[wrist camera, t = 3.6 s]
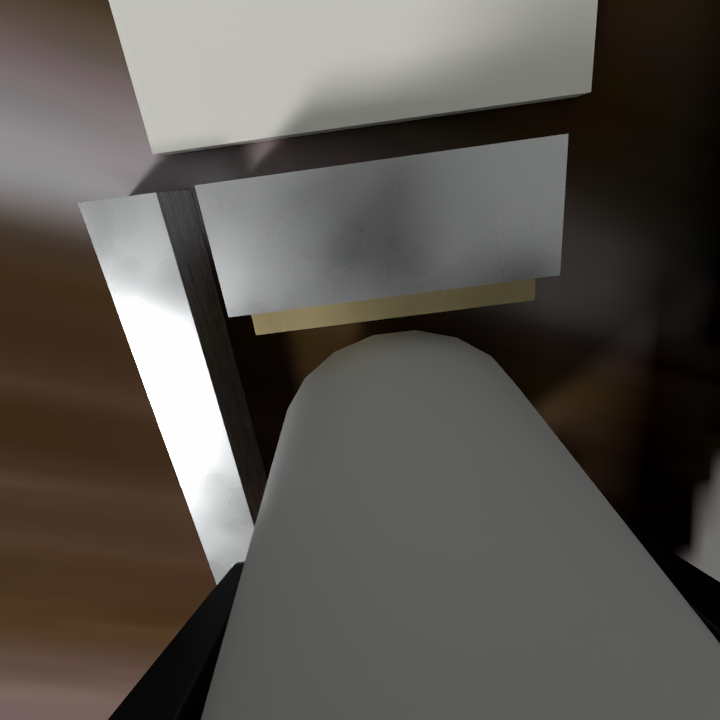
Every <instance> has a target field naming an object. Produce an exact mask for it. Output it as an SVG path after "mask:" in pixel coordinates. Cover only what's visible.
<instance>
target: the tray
mask: <svg viewBox="0 0 720 720" xmlns="http://www.w3.org/2000/svg"><path fill="white" fill-rule="evenodd" d="M109 3H110V7H111V10H112V13H113V17H114V20H115V24H116V27H117V31H118V34H119V38H120V41H121V45H122V48H123V52H124V55H125V59H126V62H127V66H128V69H129V73H130V76H131V80H132V83H133V87H134V90H135V94H136V97H137V101H138V104H139V108H140V111H141V115H142V118H143V122H144V125H145V129H146V132H147V136H148V139H149V143H150V146H151V150H152V153H153V154H156V155H171V154H178V153H185V152H192V151H199V150H206V149H213V148H220V147H227V146H234V145H241V144H249V143H256V142H263V141H270V140H277V139H284V138H291V137H298V136H305V135H312V134H319V133H326V132H333V131H340V130H347V129H355V128H362V127H369V126H376V125H383V124H390V123H397V122H404V121H411V120H418V119H425V118H432V117H439V116H446V115H454V114H461V113H468V112H475V111H482V110H489V109H496V108H503V107H510V106H517V105H524V104H531V103H538V102H545V101H552V100H560V99H567V98H574V97H578V96H581V95H584V94H587V93H590V92H591V86H592V73H593V60H594V46H595V33H596V19H597V6H598V0H109Z"/></svg>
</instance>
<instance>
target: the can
mask: <svg viewBox="0 0 720 720" xmlns="http://www.w3.org/2000/svg"><path fill="white" fill-rule="evenodd" d="M201 720H720V643H719V642H718V641H717V639H716V638H715V637H714V636H713V634H712V633H711V632H710V630H709V629H708V628H707V627H706V625H705V624H704V623H703V622H702V620H701V619H700V618H699V616H698V615H697V614H696V613H695V611H694V610H693V609H692V608H691V606H690V605H689V604H688V602H687V601H686V600H685V599H684V597H683V596H682V595H681V594H680V592H679V591H678V590H677V589H676V587H675V586H674V585H673V583H672V582H671V581H670V580H669V578H668V577H667V576H666V575H665V573H664V572H663V571H662V569H661V568H660V567H659V566H658V564H657V563H656V562H655V561H654V559H653V558H652V557H651V555H650V554H649V553H648V552H647V550H646V549H645V548H644V547H643V545H642V544H641V543H640V542H639V540H638V539H637V538H636V536H635V535H634V534H633V533H632V531H631V530H630V529H629V528H628V526H627V525H626V524H625V522H624V521H623V520H622V519H621V517H620V516H619V515H618V514H617V512H616V511H615V510H614V508H613V507H612V506H611V505H610V503H609V502H608V501H607V500H606V498H605V497H604V496H603V495H602V493H601V492H600V491H599V489H598V488H597V487H596V486H595V484H594V483H593V482H592V481H591V479H590V478H589V477H588V475H587V474H586V473H585V472H584V470H583V469H582V468H581V467H580V465H579V464H578V463H577V461H576V460H575V459H574V458H573V456H572V455H571V454H570V453H569V451H568V450H567V449H566V447H565V446H564V445H563V444H562V442H561V441H560V440H559V439H558V437H557V436H556V435H555V434H554V432H553V431H552V430H551V428H550V427H549V426H548V425H547V423H546V422H545V421H544V420H543V418H542V417H541V416H540V414H539V413H538V412H537V411H536V409H535V408H534V407H533V406H532V404H531V403H530V402H529V400H528V399H527V398H526V397H525V395H524V394H523V393H522V392H521V390H520V389H519V388H518V387H517V385H516V384H515V383H514V382H513V381H512V379H511V378H510V377H509V376H508V375H507V374H506V373H505V371H504V370H503V369H502V368H501V367H500V366H499V365H498V363H497V362H496V361H495V360H494V359H493V358H492V357H491V356H490V355H488V354H486V353H484V352H482V351H480V350H479V349H477V348H475V347H473V346H471V345H469V344H468V343H466V342H464V341H462V340H460V339H459V338H456V337H451V336H445V335H440V334H434V333H429V332H423V331H418V330H412V331H404V332H395V333H387V334H379V335H372V336H370V337H368V338H365V339H363V340H361V341H359V342H356V343H354V344H352V345H349V346H347V347H345V348H343V349H340V350H338V351H336V352H334V353H333V354H332V355H331V356H330V357H328V358H327V359H326V360H325V361H324V362H323V363H322V364H321V365H319V366H318V367H317V368H316V369H315V370H314V371H313V372H311V373H310V374H309V375H308V376H307V377H306V378H305V379H304V381H303V383H302V384H301V386H300V388H299V390H298V392H297V393H296V395H295V397H294V399H293V401H292V402H291V404H290V406H289V408H288V409H287V413H286V416H285V420H284V423H283V427H282V431H281V434H280V438H279V441H278V445H277V449H276V452H275V456H274V459H273V463H272V466H271V470H270V474H269V477H268V481H267V484H266V488H265V491H264V495H263V499H262V502H261V506H260V509H259V513H258V517H257V520H256V524H255V527H254V531H253V534H252V538H251V542H250V545H249V549H248V552H247V556H246V560H245V563H244V567H243V570H242V574H241V577H240V581H239V585H238V588H237V592H236V595H235V599H234V602H233V606H232V610H231V613H230V617H229V620H228V624H227V628H226V631H225V635H224V638H223V642H222V645H221V649H220V653H219V656H218V660H217V663H216V667H215V671H214V674H213V678H212V681H211V685H210V688H209V692H208V696H207V699H206V703H205V706H204V710H203V713H202V717H201Z"/></svg>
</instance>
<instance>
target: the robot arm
mask: <svg viewBox="0 0 720 720" xmlns="http://www.w3.org/2000/svg"><path fill="white" fill-rule="evenodd" d="M625 524H626V523H625ZM626 525H627V526H628V528H629V529H630V530H631V531H632V533H633V534H634V535H635V536H636V538H637V539H638V540H639V542H640V543H641V544H642V545H643V547H644V548H645V549H646V550H647V552H648V553H649V554H650V555H651V557H652V558H653V559H654V561H655V562H656V563H657V564H658V566H659V567H660V568H661V569H662V571H663V572H664V573H665V575H666V576H667V577H668V578H669V580H670V581H671V582H672V583H673V585H674V586H675V587H676V589H677V590H678V591H679V592H680V594H681V595H682V596H683V597H684V599H685V600H686V601H687V602H688V604H689V605H690V606H691V608H692V609H693V610H694V611H695V613H696V614H697V615H698V616H699V618H700V619H701V620H702V622H703V623H704V624H705V625H706V627H707V628H708V629H709V630H710V632H711V633H712V634H713V636H714V637H715V638H716V639H717V641H718V642H719V643H720V582H719V581H717V580H715V579H714V578H712V577H710V576H709V575H707V574H706V573H704V572H702V571H701V570H699V569H698V568H696V567H695V566H693V565H691V564H690V563H688V562H687V561H685V560H683V559H682V558H680V557H679V556H677V555H675V554H674V553H672V552H671V551H669V550H668V549H666V548H664V547H663V546H661V545H660V544H658V543H656V542H655V541H653V540H652V539H650V538H648V537H647V536H645V535H644V534H642V533H640V532H639V531H637V530H636V529H634V528H632V527H631V526H629V525H628V524H626ZM244 563H245V561H242V562H237V563H235V564H234V565H233V566H232V567H231V568H230V570H229V571H228V572H227V573H226V575H225V576H224V577H223V578H222V580H221V581H220V582H219V583H218V584H217V586H216V587H215V588H214V589H213V591H212V592H211V593H210V594H209V596H208V597H207V598H206V599H205V600H204V602H203V603H202V604H201V605H200V607H199V608H198V609H197V610H196V612H195V613H194V614H193V615H192V617H191V618H190V619H189V620H188V621H187V623H186V624H185V625H184V626H183V628H182V629H181V630H180V631H179V633H178V634H177V635H176V636H175V638H174V639H173V640H172V641H171V642H170V644H169V645H168V646H167V647H166V649H165V650H164V651H163V652H162V654H161V655H160V656H159V657H158V658H157V660H156V661H155V662H154V663H153V665H152V666H151V667H150V668H149V670H148V671H147V672H146V673H145V675H144V676H143V677H142V678H141V679H140V681H139V682H138V683H137V684H136V686H135V687H134V688H133V689H132V691H131V692H130V693H129V694H128V696H127V697H126V698H125V699H124V700H123V702H122V703H121V704H120V705H119V707H118V708H117V709H116V710H115V712H114V713H113V714H112V715H111V716H110V718H109V719H108V720H201V717H202V713H203V710H204V706H205V703H206V699H207V696H208V692H209V688H210V685H211V681H212V678H213V674H214V671H215V667H216V663H217V660H218V656H219V653H220V649H221V645H222V642H223V638H224V635H225V631H226V628H227V624H228V620H229V617H230V613H231V610H232V606H233V602H234V599H235V595H236V592H237V588H238V585H239V581H240V577H241V574H242V570H243V567H244Z"/></svg>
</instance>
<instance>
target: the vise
mask: <svg viewBox="0 0 720 720" xmlns="http://www.w3.org/2000/svg"><path fill="white" fill-rule="evenodd" d="M567 150H568V134H562V135H555V136H547V137H540V138H533V139H526V140H519V141H511V142H504V143H497V144H490V145H482V146H475V147H468V148H461V149H454V150H446V151H439V152H432V153H425V154H418V155H410V156H403V157H396V158H389V159H381V160H374V161H367V162H360V163H353V164H345V165H338V166H331V167H324V168H317V169H309V170H302V171H295V172H288V173H280V174H273V175H266V176H259V177H252V178H244V179H237V180H230V181H223V182H216V183H208V184H201V185H194V186H195V189H196V193H197V197H198V201H199V205H200V209H201V213H202V216H203V220H204V224H205V228H206V232H207V236H208V240H209V244H210V247H211V251H212V255H213V259H214V263H215V267H216V271H217V274H218V278H219V282H220V286H221V290H222V294H223V298H224V302H225V305H226V309H227V313H228V317H236V316H244V315H251V316H252V320H253V325H254V329H255V333H256V335H261V334H269V333H277V332H285V331H293V330H301V329H309V328H317V327H325V326H333V325H341V324H349V323H357V322H365V321H373V320H381V319H389V318H397V317H405V316H412V315H420V314H428V313H436V312H444V311H452V310H460V309H468V308H476V307H484V306H492V305H500V304H508V303H516V302H524V301H532V300H535V280H536V278H542V277H550V276H558V275H560V270H561V253H562V236H563V219H564V202H565V185H566V168H567ZM78 204H79V207H80V210H81V213H82V215H83V218H84V221H85V224H86V226H87V229H88V232H89V235H90V237H91V240H92V243H93V246H94V248H95V251H96V254H97V257H98V259H99V262H100V265H101V268H102V270H103V273H104V276H105V279H106V281H107V284H108V287H109V290H110V292H111V295H112V298H113V301H114V303H115V306H116V309H117V312H118V314H119V317H120V320H121V323H122V325H123V328H124V331H125V334H126V336H127V339H128V342H129V345H130V347H131V350H132V353H133V356H134V358H135V361H136V364H137V367H138V369H139V372H140V375H141V378H142V380H143V383H144V386H145V389H146V391H147V394H148V397H149V400H150V402H151V405H152V408H153V411H154V413H155V416H156V419H157V422H158V424H159V427H160V430H161V433H162V435H163V438H164V441H165V444H166V446H167V449H168V452H169V455H170V457H171V460H172V463H173V466H174V468H175V471H176V474H177V477H178V479H179V482H180V485H181V487H182V490H183V493H184V496H185V498H186V501H187V504H188V507H189V509H190V512H191V515H192V518H193V520H194V523H195V526H196V529H197V531H198V534H199V537H200V540H201V542H202V545H203V548H204V551H205V553H206V556H207V559H208V562H209V564H210V567H211V570H212V573H213V575H214V578H215V581H216V584H218V583H219V582H220V581H221V580H222V578H223V577H224V576H225V575H226V573H227V572H228V571H229V570H230V568H231V567H232V566H233V565H234V564H235V563H237V562H242V561H245V560H246V556H247V552H248V549H249V545H250V542H251V538H252V534H253V531H254V527H255V524H256V520H257V517H258V513H259V509H260V506H261V502H262V499H263V495H264V491H265V488H266V484H267V478H266V474H265V470H264V467H263V463H262V459H261V455H260V451H259V448H258V444H257V440H256V436H255V432H254V429H253V425H252V421H251V417H250V413H249V410H248V406H247V402H246V398H245V394H244V391H243V387H242V383H241V379H240V375H239V372H238V368H237V364H236V360H235V356H234V352H233V349H232V345H231V341H230V337H229V333H228V330H227V326H226V322H225V318H224V314H223V311H222V307H221V303H220V299H219V295H218V292H217V288H216V284H215V280H214V276H213V273H212V269H211V265H210V261H209V257H208V254H207V250H206V246H205V242H204V238H203V235H202V231H201V227H200V223H199V219H198V216H197V212H196V208H195V204H194V200H193V196H192V193H191V189H190V190H178V191H166V192H155V193H148V194H140V195H133V196H126V197H119V198H111V199H104V200H97V201H90V202H83V203H78Z"/></svg>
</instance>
